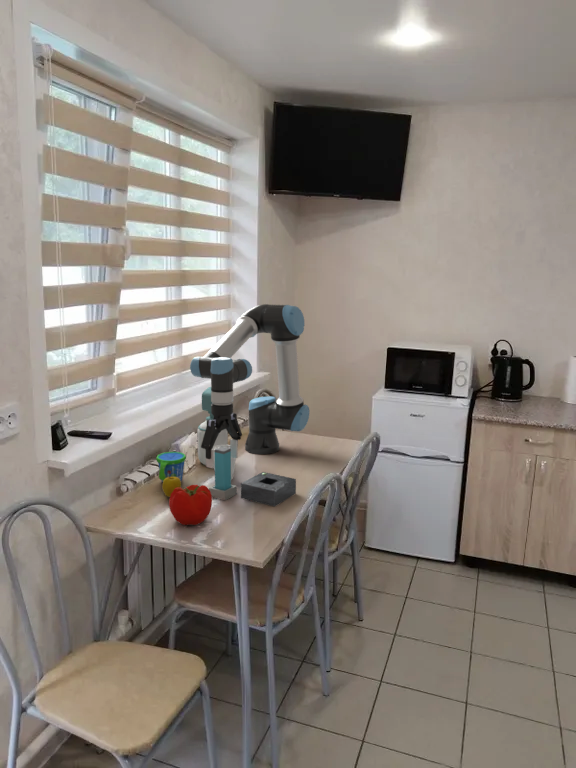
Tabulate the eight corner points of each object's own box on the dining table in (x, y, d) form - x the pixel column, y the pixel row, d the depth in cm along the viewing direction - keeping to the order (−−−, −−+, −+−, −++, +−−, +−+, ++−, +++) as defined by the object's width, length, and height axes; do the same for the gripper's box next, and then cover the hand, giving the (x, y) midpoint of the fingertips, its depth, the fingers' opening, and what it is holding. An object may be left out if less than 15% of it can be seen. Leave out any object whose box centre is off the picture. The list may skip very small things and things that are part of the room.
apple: (159, 498, 211) (158, 476, 209) (169, 492, 217) (168, 471, 215) (175, 501, 208) (174, 479, 207) (184, 495, 214) (184, 473, 213)
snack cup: (172, 491, 218) (171, 464, 216) (147, 486, 222) (146, 460, 220) (194, 477, 232) (194, 451, 230) (171, 473, 236) (170, 448, 234)
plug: (222, 492, 217) (221, 446, 214) (231, 494, 215) (230, 448, 212) (215, 495, 214) (214, 449, 211) (224, 497, 212) (223, 451, 209)
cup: (232, 483, 226) (232, 452, 224) (209, 481, 228) (208, 450, 226) (239, 474, 235) (239, 445, 233) (216, 473, 237) (216, 443, 234)
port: (263, 485, 224) (263, 470, 222) (295, 493, 217) (295, 478, 215) (240, 498, 212) (240, 482, 211) (274, 506, 205) (274, 490, 204)
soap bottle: (233, 460, 252) (233, 387, 246) (217, 469, 241) (216, 392, 235) (209, 456, 257) (208, 384, 251) (191, 464, 246) (190, 389, 240)
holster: (221, 489, 219) (221, 482, 219) (237, 493, 216) (236, 485, 215) (209, 496, 213) (209, 488, 213) (225, 500, 210) (225, 492, 209)
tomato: (176, 533, 184) (175, 497, 181) (166, 516, 197) (164, 481, 194) (218, 526, 189) (217, 491, 187) (205, 509, 202) (205, 476, 199)
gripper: (234, 395, 220) (234, 451, 224) (189, 408, 199) (190, 469, 203) (251, 398, 217) (251, 455, 220) (207, 411, 196) (208, 473, 200)
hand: (222, 462), depth 212 cm, fingers open, 13 cm apart
